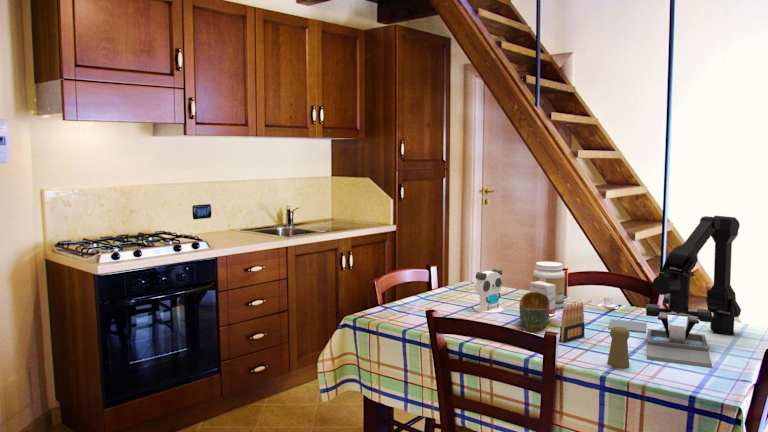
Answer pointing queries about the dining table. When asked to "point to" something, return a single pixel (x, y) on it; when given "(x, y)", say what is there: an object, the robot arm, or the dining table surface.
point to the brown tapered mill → (619, 348)
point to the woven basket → (534, 311)
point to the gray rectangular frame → (678, 350)
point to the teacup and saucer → (608, 303)
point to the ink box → (545, 292)
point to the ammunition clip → (572, 323)
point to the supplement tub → (552, 278)
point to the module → (676, 334)
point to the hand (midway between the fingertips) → (676, 339)
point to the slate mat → (628, 325)
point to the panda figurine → (489, 291)
